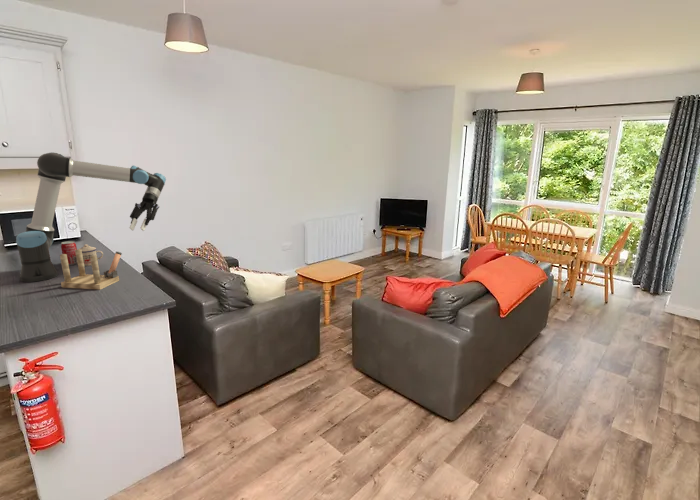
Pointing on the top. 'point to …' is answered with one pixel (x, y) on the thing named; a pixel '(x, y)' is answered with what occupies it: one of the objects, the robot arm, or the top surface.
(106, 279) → the stool
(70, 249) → the soda can
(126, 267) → the top surface
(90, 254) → the teacup with lid
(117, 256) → the folding leg
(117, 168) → the robot arm
